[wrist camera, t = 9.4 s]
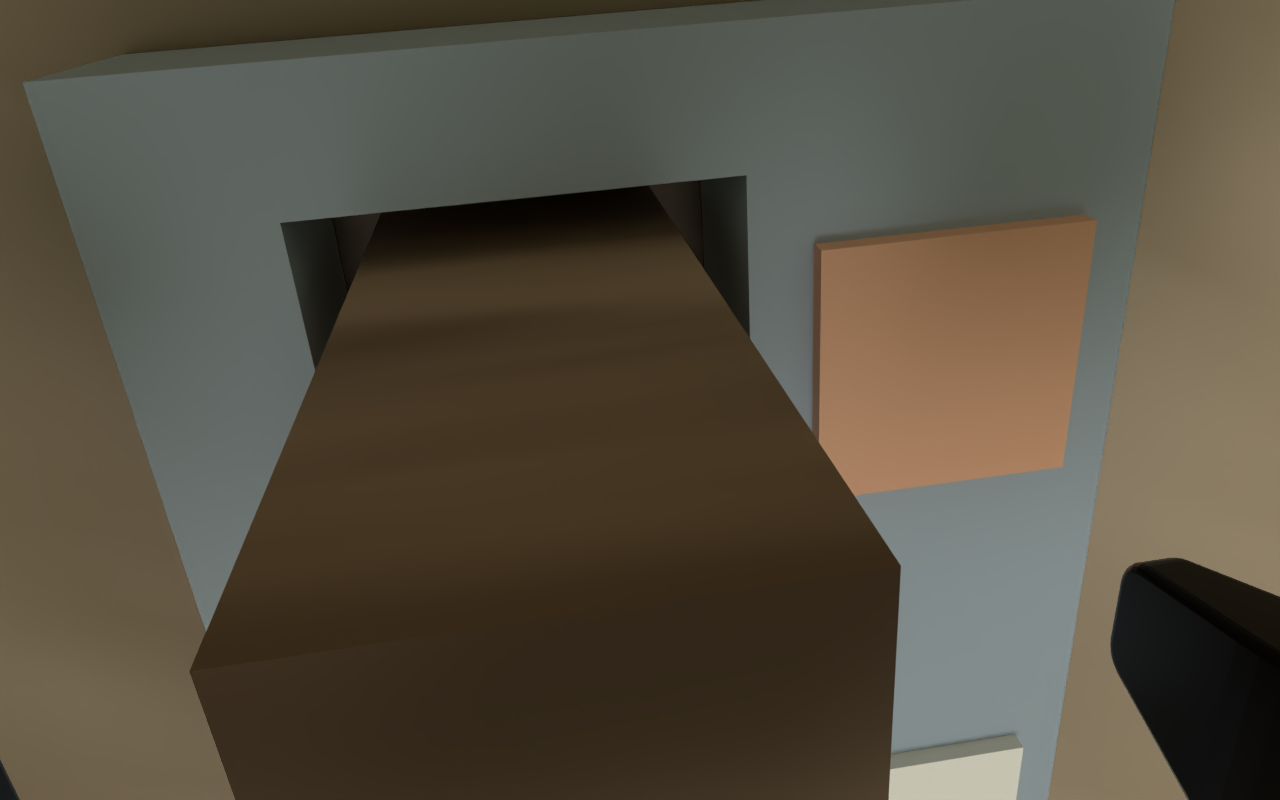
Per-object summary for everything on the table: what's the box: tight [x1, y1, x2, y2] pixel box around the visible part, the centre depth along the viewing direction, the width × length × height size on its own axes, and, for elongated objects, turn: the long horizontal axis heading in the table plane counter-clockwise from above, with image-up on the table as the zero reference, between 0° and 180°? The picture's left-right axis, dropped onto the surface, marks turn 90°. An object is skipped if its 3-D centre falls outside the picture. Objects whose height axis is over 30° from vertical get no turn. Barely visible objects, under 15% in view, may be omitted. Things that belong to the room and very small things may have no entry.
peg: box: [190, 186, 901, 800], centre depth 11 cm, size 4×4×10 cm
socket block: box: [22, 0, 1175, 800], centre depth 16 cm, size 18×13×3 cm
